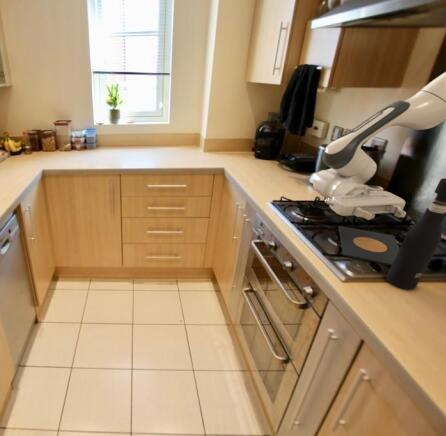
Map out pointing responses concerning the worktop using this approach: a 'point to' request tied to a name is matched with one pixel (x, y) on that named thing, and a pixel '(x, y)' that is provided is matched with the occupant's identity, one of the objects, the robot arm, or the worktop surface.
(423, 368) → the worktop surface
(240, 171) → the worktop surface
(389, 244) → the centre mat
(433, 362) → the worktop surface
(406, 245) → the wine bottle
